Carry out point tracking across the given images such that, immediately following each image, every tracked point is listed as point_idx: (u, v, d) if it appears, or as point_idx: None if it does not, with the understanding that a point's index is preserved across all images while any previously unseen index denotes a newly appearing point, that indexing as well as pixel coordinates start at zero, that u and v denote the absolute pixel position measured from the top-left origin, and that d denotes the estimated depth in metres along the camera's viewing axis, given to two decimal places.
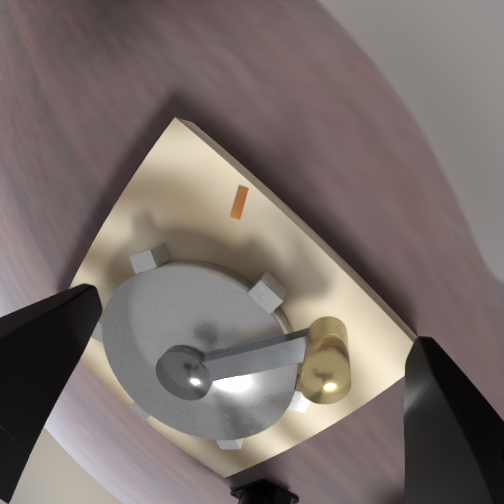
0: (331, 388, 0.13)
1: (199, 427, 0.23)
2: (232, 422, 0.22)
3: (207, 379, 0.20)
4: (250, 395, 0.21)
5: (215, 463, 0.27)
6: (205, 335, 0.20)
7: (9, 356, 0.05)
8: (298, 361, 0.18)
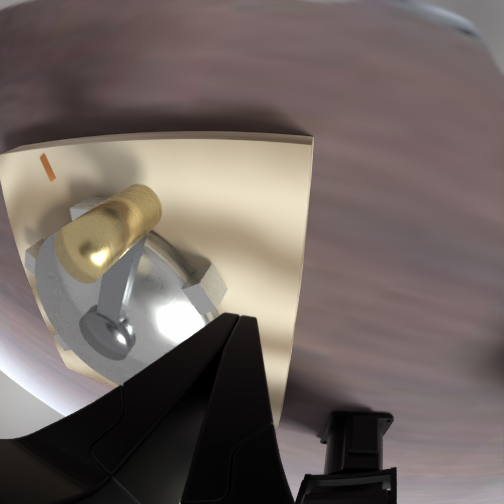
0: (82, 255, 0.10)
1: None
2: None
3: (110, 326, 0.18)
4: (162, 321, 0.18)
5: None
6: (89, 286, 0.19)
7: (172, 429, 0.05)
8: (132, 254, 0.15)
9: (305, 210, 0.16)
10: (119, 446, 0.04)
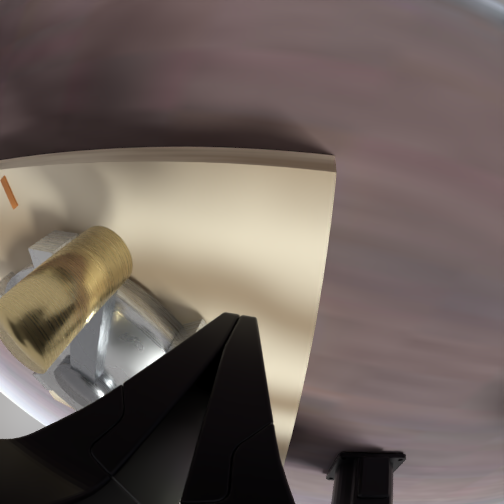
0: (20, 342, 0.07)
1: None
2: None
3: (86, 383, 0.14)
4: None
5: None
6: None
7: (172, 429, 0.05)
8: (100, 315, 0.11)
9: (324, 259, 0.12)
10: (119, 446, 0.04)
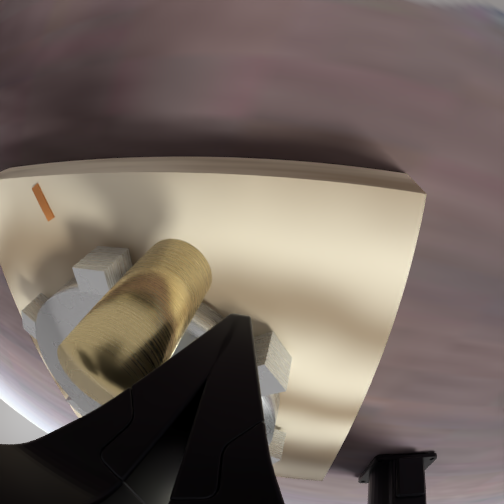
0: (107, 382, 0.06)
1: None
2: None
3: None
4: None
5: (297, 472, 0.21)
6: None
7: (181, 432, 0.05)
8: None
9: (406, 274, 0.11)
10: (130, 450, 0.04)
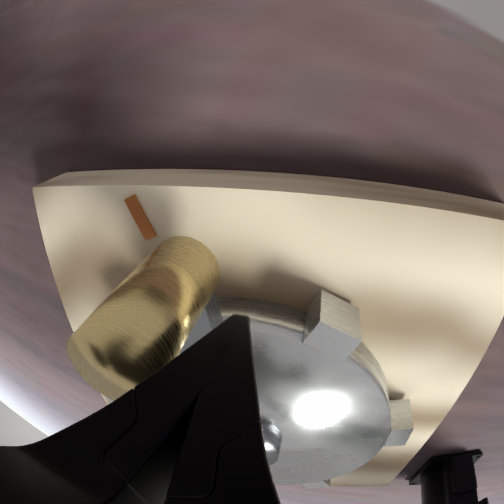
0: (111, 368, 0.06)
1: (352, 454, 0.14)
2: (352, 426, 0.13)
3: None
4: (300, 396, 0.12)
5: (367, 480, 0.20)
6: None
7: (185, 433, 0.05)
8: None
9: None
10: (133, 452, 0.04)
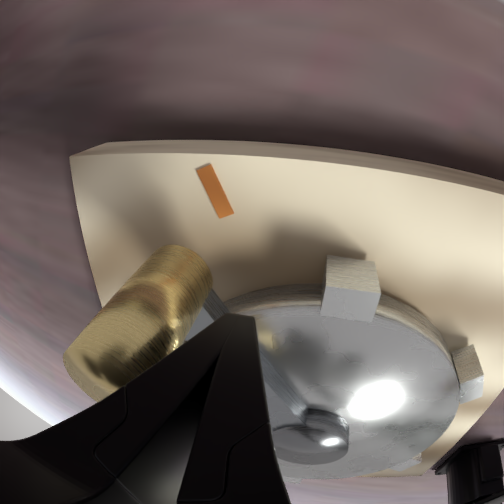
0: (101, 378, 0.06)
1: (429, 421, 0.12)
2: (415, 391, 0.11)
3: (297, 430, 0.12)
4: (345, 374, 0.11)
5: (404, 470, 0.19)
6: None
7: (175, 430, 0.05)
8: None
9: None
10: (123, 448, 0.04)
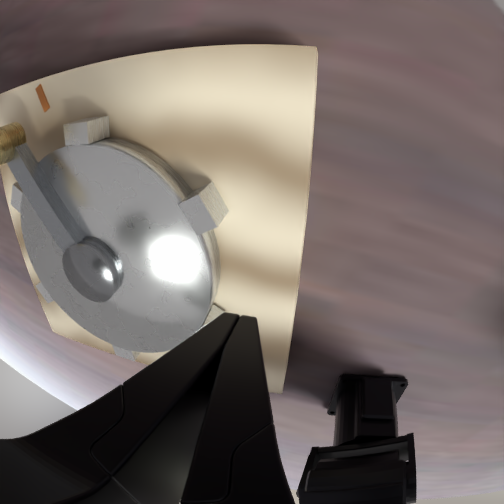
0: None
1: (180, 259, 0.16)
2: (142, 211, 0.15)
3: (70, 247, 0.16)
4: (91, 193, 0.16)
5: None
6: None
7: (172, 429, 0.05)
8: (22, 161, 0.14)
9: (312, 113, 0.14)
10: (119, 446, 0.04)
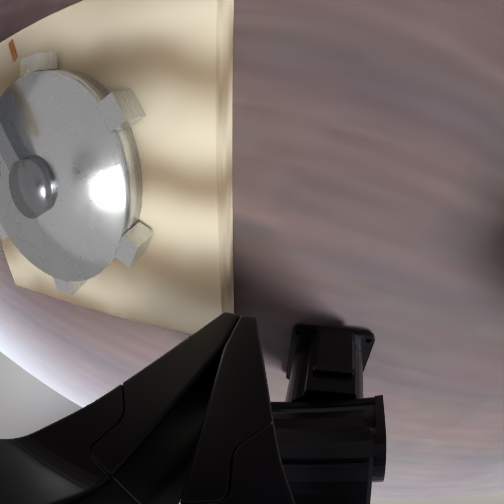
0: None
1: (98, 160, 0.15)
2: (70, 119, 0.14)
3: (14, 163, 0.15)
4: (34, 113, 0.15)
5: (191, 319, 0.22)
6: (10, 171, 0.17)
7: (172, 429, 0.05)
8: None
9: (215, 16, 0.13)
10: (119, 446, 0.04)
